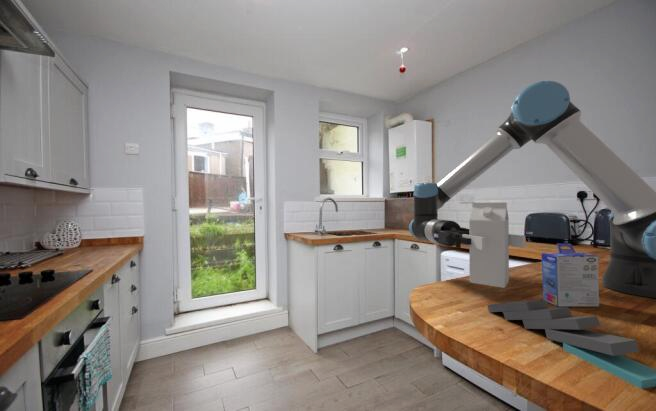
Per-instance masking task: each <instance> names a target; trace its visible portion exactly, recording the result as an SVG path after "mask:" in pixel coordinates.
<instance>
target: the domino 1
mask: <svg viewBox="0 0 656 411" xmlns="http://www.w3.org/2000/svg"><path fill="white" fill-rule="evenodd" d="M486 306H487V310H488V312H489V313H498V312H499V313H500V312H501V313H503V312H507V311H530V310H538V309H546V308H549V306H548V302H547V301H546V300H543V299H537V300H522V301H510V302H509V301H508V302H498V303H491V304H487V305H486Z"/></svg>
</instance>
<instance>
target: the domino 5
mask: <svg viewBox="0 0 656 411" xmlns="http://www.w3.org/2000/svg"><path fill="white" fill-rule="evenodd" d="M562 350H564V351H566V352H568V353H570V354H571V355H574V356H576V357H577V358H579V359H581V360H584V361H585V362H588V363H590V364H591V365H594V366H595V367H597V368H599V369H601V370H603V371H605V372H607V373H609V374H610V375H613V376H616V377H617V378H619V379H620V380H623V381H625V382H627V383H629V384H631V385H633V386H634V387H637V388H639V389H641V390H644V389H648V388H654V387H656V369H654V368H652V367H650V366H647V365H645V364H643V363H642V362H641V363H640V362H639V361H636V360H635V359H632V358H629V357H627V356H626V355H624V354H621V355H615V356H612V355H608V354H604V353H601V352H597V351H593V350H589V349H585V348H581V347H578V346H574V345H570V344H566V343H562Z"/></svg>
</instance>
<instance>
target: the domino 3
mask: <svg viewBox="0 0 656 411" xmlns="http://www.w3.org/2000/svg"><path fill="white" fill-rule="evenodd" d="M521 321H522V323H523V324H522V325H523V326H524V329H525V330H528V329H530V330H531V329H532V330H545V329H578V330H580V329H583V330H587V329H592V328H599V327H602V325H601V323H600V321H599V318H598V315H586V316H585V315H584V316H583V315H581V316H579V315H577V316H572V317H565V318H558V319H542V320H521Z"/></svg>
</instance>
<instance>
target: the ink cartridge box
mask: <svg viewBox="0 0 656 411" xmlns="http://www.w3.org/2000/svg"><path fill="white" fill-rule="evenodd" d="M556 247H557V250H558V252H541V271H542V274H541V275H542V300H546V303H549V304H551V305H553V306H555V307H558V308H563V307H599V306H600V295H599V294H600V291H599V290H600V289H599V287H600V286H599V284H600V283H599V256H598V255H597V254H590V253H587V252H586V253H585V252H582V251H581V252H580V251H579V252H577V251H576V250H575V249H574V247H573V244H571V243H569V242H568V243H565V242H564V243H559V242H558V243H557V242H556ZM562 247H567V248H562Z"/></svg>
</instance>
